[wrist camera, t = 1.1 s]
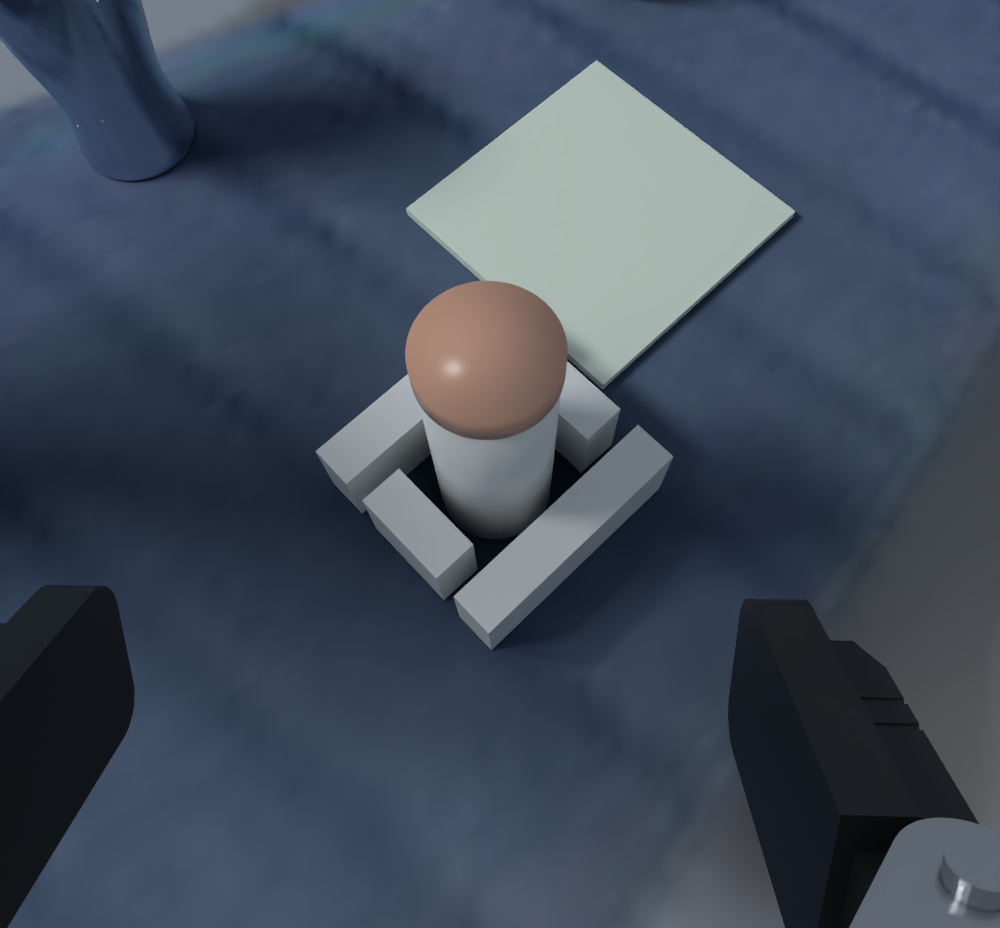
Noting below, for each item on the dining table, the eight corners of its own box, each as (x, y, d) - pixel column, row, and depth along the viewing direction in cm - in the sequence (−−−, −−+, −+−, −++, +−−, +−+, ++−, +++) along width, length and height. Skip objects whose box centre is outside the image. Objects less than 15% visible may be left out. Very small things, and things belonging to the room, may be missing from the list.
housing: (333, 483, 41) (315, 451, 37) (499, 342, 43) (497, 298, 39) (491, 650, 38) (488, 633, 34) (659, 488, 40) (673, 456, 37)
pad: (407, 214, 46) (406, 208, 45) (595, 67, 49) (596, 60, 49) (602, 389, 42) (603, 385, 42) (792, 217, 45) (795, 211, 45)
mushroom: (415, 485, 41) (371, 349, 28) (497, 412, 42) (489, 253, 30) (493, 564, 39) (482, 457, 27) (576, 487, 40) (601, 351, 28)
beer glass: (74, 97, 49) (-103, -185, 35) (200, 77, 49) (74, -209, 35) (76, 199, 47) (-114, -61, 33) (208, 177, 47) (76, -88, 33)
